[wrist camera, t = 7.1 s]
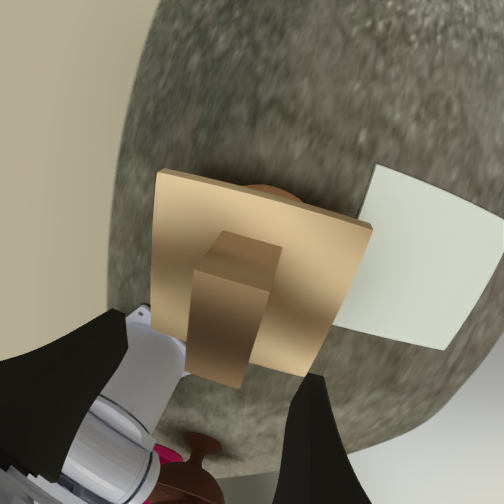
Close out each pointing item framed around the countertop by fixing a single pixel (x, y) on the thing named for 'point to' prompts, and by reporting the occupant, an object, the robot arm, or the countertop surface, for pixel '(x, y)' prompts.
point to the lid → (247, 275)
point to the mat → (420, 261)
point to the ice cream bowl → (189, 476)
